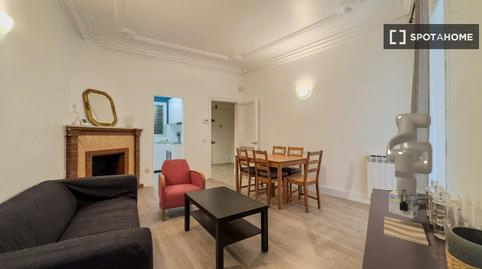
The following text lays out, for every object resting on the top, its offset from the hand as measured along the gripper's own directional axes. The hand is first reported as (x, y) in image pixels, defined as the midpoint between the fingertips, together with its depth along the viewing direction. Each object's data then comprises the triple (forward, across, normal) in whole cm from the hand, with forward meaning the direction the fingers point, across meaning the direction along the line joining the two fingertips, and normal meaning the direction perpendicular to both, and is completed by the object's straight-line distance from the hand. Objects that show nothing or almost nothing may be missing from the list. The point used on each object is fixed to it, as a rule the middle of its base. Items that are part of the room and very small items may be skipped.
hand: (403, 207), depth 109 cm
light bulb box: (+3, 0, 0) cm, 3 cm away
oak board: (+9, +6, 0) cm, 11 cm away
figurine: (+9, -51, -1) cm, 52 cm away
